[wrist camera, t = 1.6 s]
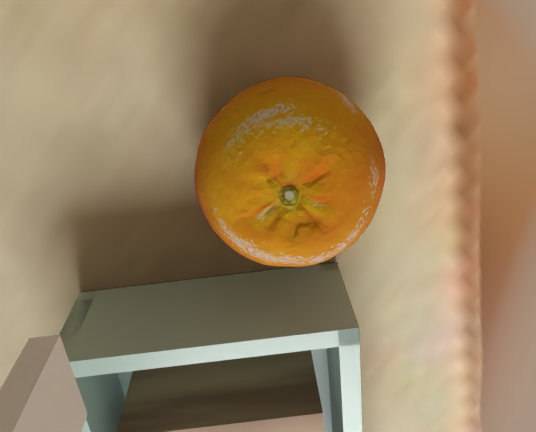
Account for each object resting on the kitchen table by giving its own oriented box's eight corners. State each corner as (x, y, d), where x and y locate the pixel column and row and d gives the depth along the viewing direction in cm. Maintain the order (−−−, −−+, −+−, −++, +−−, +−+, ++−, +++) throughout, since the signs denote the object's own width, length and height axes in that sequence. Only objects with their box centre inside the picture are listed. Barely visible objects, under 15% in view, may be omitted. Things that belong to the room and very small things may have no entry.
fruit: (310, 6, 20) (304, 173, 16) (411, 121, 25) (425, 266, 21) (172, 96, 25) (142, 240, 21) (282, 175, 30) (274, 301, 26)
